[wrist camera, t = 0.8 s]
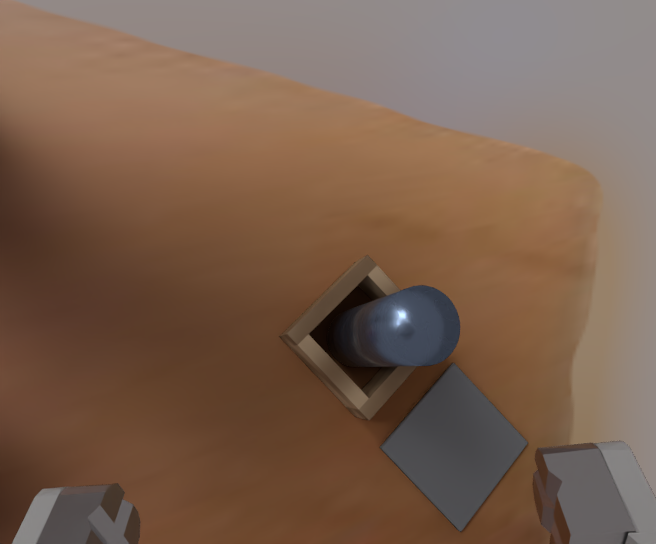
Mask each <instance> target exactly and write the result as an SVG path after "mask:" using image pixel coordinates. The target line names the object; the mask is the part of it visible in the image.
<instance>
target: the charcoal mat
mask: <svg viewBox="0 0 656 544" xmlns="http://www.w3.org/2000/svg"><path fill="white" fill-rule="evenodd" d="M527 444H528V442H527V441H526V440H525V439H524V438H523V437H522V436H521V435H520V434H519V433H518V431H517V430H516V429H515V428H514V427H513V426H512V425H511V424H510V423H509V422H508V421H507V420H506V418H505V417H504V416H503V415H502V414H501V413H500V412H499V411H498V410H497V409H496V408H495V407H494V406H493V404H492V403H491V402H490V401H489V400H488V399H487V398H486V397H485V396H484V395H483V394H482V393H481V392H480V390H479V389H478V388H477V387H476V386H475V385H474V384H473V383H472V382H471V381H470V380H469V379H468V378H467V376H466V375H465V374H464V373H463V372H462V371H461V370H460V369H459V368H458V367H457V366H456V365H455V363H452V364H451V365H450V366H449V368H448V369H447V370H446V371H445V372H444V373H443V375H442V376H441V377H440V378H439V379H438V380H437V381H436V383H435V384H434V385H433V386H432V387H431V388H430V390H429V391H428V392H427V393H426V394H425V395H424V397H423V398H422V399H421V400H420V401H419V402H418V404H417V405H416V406H415V407H414V408H413V409H412V410H411V412H410V413H409V414H408V415H407V416H406V417H405V419H404V420H403V421H402V422H401V423H400V424H399V426H398V427H397V428H396V429H395V430H394V431H393V432H392V434H391V435H390V436H389V437H388V438H387V439H386V441H385V442H384V443H383V444H382V445H381V446H380V448H381V449H382V451H383V452H384V453H385V454H386V455H387V456H388V457H389V458H390V459H391V460H392V461H393V462H394V463H395V464H396V465H397V466H398V467H399V468H400V470H401V471H402V472H403V473H404V474H405V475H406V476H407V477H408V478H409V479H410V480H411V481H412V482H413V483H414V484H415V485H416V486H417V487H418V488H419V490H420V491H421V492H422V493H423V494H424V495H425V496H426V497H427V498H428V499H429V500H430V501H431V502H432V503H433V504H434V505H435V506H436V507H437V509H438V510H439V511H440V512H441V513H442V514H443V515H444V516H445V517H446V518H447V519H448V520H449V521H450V522H451V523H452V524H453V525H454V526H455V527H456V529H457V530H458V531H460V532H461V531H462V530H463V528H464V527H465V526H466V524H467V523H468V522H469V520H470V519H471V518H472V516H473V515H474V514H475V512H476V511H477V510H478V509H479V507H480V506H481V505H482V503H483V502H484V501H485V499H486V498H487V497H488V495H489V494H490V493H491V491H492V490H493V489H494V487H495V486H496V485H497V483H498V482H499V481H500V479H501V478H502V477H503V475H504V474H505V473H506V471H507V470H508V469H509V467H510V466H511V465H512V463H513V462H514V461H515V459H516V458H517V457H518V456H519V454H520V453H521V452H522V450H523V449H524V448H525V446H526V445H527Z"/></svg>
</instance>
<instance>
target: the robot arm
mask: <svg viewBox="0 0 656 544" xmlns="http://www.w3.org/2000/svg"><path fill="white" fill-rule="evenodd" d="M535 462H536V465H537V468H538V470H537V471H536V472H534V473H533V492H534V500H535V504H536V508H537V512H538V515H539V519H540V522H541V525H542V526H543V527H544V528H546V529H547V530H548V531H549V532H550V533H551V536H550V543H549V544H656V497H655V495H654V493H653V491H652V489H651V487H650V485H649V484H648V482H647V480H646V478H645V476H644V474H643V472H642V470H641V468H640V466H639V464H638V462H637V460H636V458H635V456H634V454H633V452H632V451H631V448H630V447H629V446H628V445H627V444H626V443H625V442H624V441H612V442H601V443H584V444H574V445H564V446H554V447H544V448H538V449H537V450H536V453H535ZM124 493H125V492H124V491H123V489H122V488H121V487H120V486H119V484H118V483H115V484H102V485H89V486H76V487H59V488H48V489H42V490H41V491H40V492H39V493H38V494H37V495H36V496H35V498H34V499H33V501H32V503H31V505H30V507H29V510H28V512H27V514H26V516H25V518H24V520H23V522H22V524H21V526H20V528H19V530H18V532H17V534H16V536H15V538H14V540H13V542H12V544H138V541H139V537H140V518H139V514H138V511H137V510H136V508H135V506H134V505H133V504H131V503H129V502H127V501H125V500H123V496H124Z"/></svg>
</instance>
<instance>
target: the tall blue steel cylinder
mask: <svg viewBox="0 0 656 544" xmlns="http://www.w3.org/2000/svg"><path fill="white" fill-rule="evenodd" d="M459 335H460V320H459V316H458V313H457V310H456V308H455V306H454V305H453V303H452V302H451V300H450V299H449V298H448V297H447V296H446V295H445V294H444V293H442V292H441V291H439V290H437V289H435V288H433V287H429V286H423V285H422V286H413V287H410V288H407V289H404V290H401V291H399V292H396V293H393V294H390V295H387V296H385V297H382V298H379V299H376V300H374V301H371V302H368V303H365V304H362V305H360V306H357V307H354V308H351V309H349V310H346V311H343V312H341V313H340V314H338V315H337V316H336V317H335V318H334V319H333V320H332V322H331V324H330V326H329V329H328V333H327V342H328V346H329V349H330V351H331V353H332V355H333V356H334V357H335V359H337V360H338V361H339V362H340V363H342V364H344V365H346V366H350V367H391V366H430V365H435V364H437V363H440V362H442V361H443V360H445V359H446V358H447V357H448V356H449V355H450V354H451V353H452V352H453V350H454V349H455V347H456V345H457V342H458V339H459Z"/></svg>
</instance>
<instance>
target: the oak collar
mask: <svg viewBox="0 0 656 544" xmlns="http://www.w3.org/2000/svg"><path fill="white" fill-rule="evenodd" d="M357 285H358V286H359V287H360V288H361V289H362V290H363V291H364V292H365V293H366V294H367V295H368V296H369V298H370V299H371V300H372V301H374V300H376V299H379V298H382V297H385V296H387V295H390V294H393V293H396V292H399V291H401V290H400V289H399V288H398V287H397V286H396V285H395V284H394V283H393V282H392V281H391V280H390V279H389V277H388V276H387V275H386V274H385V273H384V272H383V271H382V270H381V269H380V268H379V267H378V266H377V265H376V263H375V262H374V261H373V260H372V259H371V258H370V257H369V256H368V255H366V256H365V257H363V258H361V259H360V260H358V261H357V262H355V263H354V264H353V265H352V266H351V267H350V268H349V269H348V270H347V271H346V272H345V273H344V274H343V275H341V276H340V277H339V278H338V279H337V280H336V281H335V282H334V283H333V284H332V285H331V286H330V287H329V288H328V289H327V290H326V291H325V292H324V293H323V294H322V295H321V296H320V297H319V298H318V299H317V300H316V301H315V302H314V303H313V304H312V305H311V306H310V307H309V308H308V309H307V310H306V311H305V312H304V313H303V314H302V315H301V316H300V317H299V318H298V319H297V320H296V321H295V322H294V323H292V324H291V325H290V326H289V327H288V328H287V329H286V330H285V331H284V332H283V333H282V334H281V335H280V336H279V337H280V338H281V339H282V340H283V341H284V342H285V343H286V344H287V345H288V346H289V347H290V348H291V349H292V350H293V351H294V353H295V354H296V355H297V356H298V357H299V358H300V359H301V360H302V361H303V362H304V363H305V364H306V365H307V366H308V367H309V368H310V369H311V370H312V372H313V373H314V374H315V375H316V376H317V377H318V378H319V379H320V380H321V381H322V382H323V383H324V384H325V385H326V386H327V387H328V388H329V389H330V391H331V392H332V393H333V394H334V395H335V396H336V397H337V398H338V399H339V400H340V401H341V402H342V403H343V404H344V405H345V406H346V407H347V408H348V410H349V411H350V412H351V413H352V414H353V415H354V416H355V417H358V418H361V419H365V420H370V419H371V418H372V417H373V416H374V415H375V414H376V412H377V411H378V410H379V409H380V408H381V407H382V406H383V405H384V403H385V402H386V401H387V400H388V399H389V398H390V397H391V396H392V394H393V393H394V392H395V391H396V390H397V389H398V388H399V386H400V385H401V384H402V383H403V382H404V381H405V380H406V379H407V377H408V376H409V375H410V374H411V373H412V372H413V371H414V370H415V368H416V367H417V366H391V367H382V368H381V369H380V370H379V371H378V372H377V373H376V374H375V375H374V377H373V378H372V379H371V380H370V381H369V382H368V383H367V384H366V385H365V386H364V388H363V389H362V390H361V389H360V388H359V387H358V386H357V385H356V384H355V383H354V382H353V381H352V380H351V379H350V378H349V377H348V376H347V375H346V373H345V372H344V371H343V370H342V369H341V368H340V367H339V366H338V365H337V364H336V363H335V362H334V361H333V360H332V359H331V358H330V357H329V355H328V354H327V353H326V352H325V351H324V350H323V349H322V348H321V347H320V346H319V345H318V344H317V343H316V342H315V341H314V340H313V338H312V337H311V336H310V335H309V333H310V332H311V331H312V330H313V329H314V328H315V327H316V326H317V325H318V324H319V323H320V322H321V321H322V320H323V319H324V318H325V317H326V316H327V315H328V314H329V313H330V312H331V311H332V310H333V309H334V308H335V307H336V306H337V305H338V304H339V303H340V302H341V301H342V300H343V299H344V298H345V297H346V296H347V295H348V294H349V293H350V292H351V291H352V290H353V289H354V288H355V287H356V286H357Z"/></svg>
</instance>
